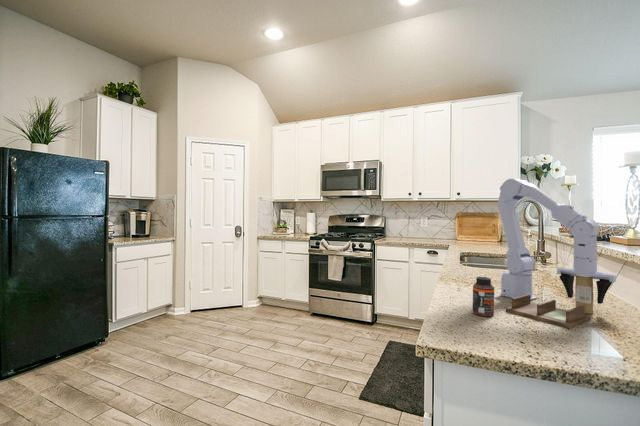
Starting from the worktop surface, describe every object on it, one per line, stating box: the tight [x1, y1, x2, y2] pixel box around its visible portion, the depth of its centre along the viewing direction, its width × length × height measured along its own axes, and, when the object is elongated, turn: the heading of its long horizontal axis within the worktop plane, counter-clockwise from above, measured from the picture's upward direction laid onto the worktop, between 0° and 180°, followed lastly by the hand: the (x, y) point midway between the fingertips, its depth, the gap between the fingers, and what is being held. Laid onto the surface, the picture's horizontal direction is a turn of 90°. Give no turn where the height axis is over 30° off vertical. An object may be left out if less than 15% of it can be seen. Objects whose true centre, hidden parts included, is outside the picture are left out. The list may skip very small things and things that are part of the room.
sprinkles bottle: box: [574, 272, 594, 315], centre depth 99 cm, size 5×5×14 cm
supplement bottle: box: [472, 276, 495, 318], centre depth 96 cm, size 6×6×11 cm
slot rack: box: [505, 294, 592, 329], centre depth 96 cm, size 17×14×4 cm
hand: (584, 300), depth 99 cm, fingers open, 7 cm apart
